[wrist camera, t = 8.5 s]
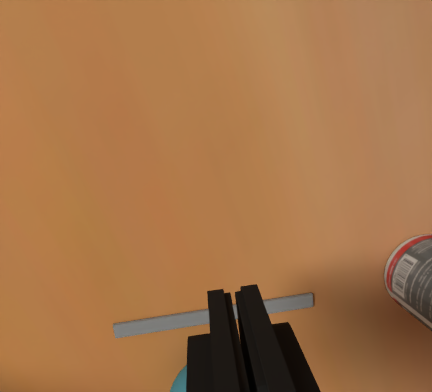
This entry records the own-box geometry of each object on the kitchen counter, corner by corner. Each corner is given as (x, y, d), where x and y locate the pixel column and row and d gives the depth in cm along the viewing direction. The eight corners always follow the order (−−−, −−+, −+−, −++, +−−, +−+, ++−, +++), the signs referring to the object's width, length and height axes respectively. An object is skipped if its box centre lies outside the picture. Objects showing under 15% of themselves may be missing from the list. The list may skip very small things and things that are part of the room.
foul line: (113, 323, 20) (112, 325, 20) (311, 292, 21) (312, 294, 21) (116, 336, 21) (115, 338, 20) (312, 305, 21) (313, 306, 21)
